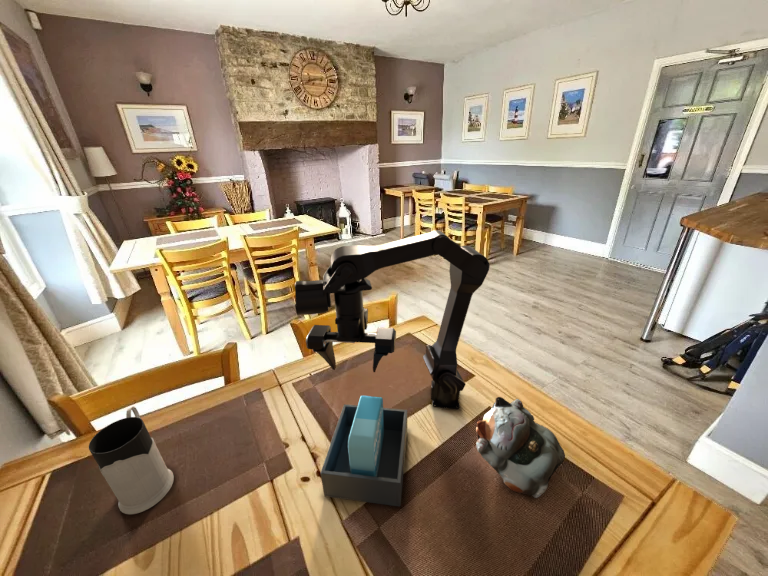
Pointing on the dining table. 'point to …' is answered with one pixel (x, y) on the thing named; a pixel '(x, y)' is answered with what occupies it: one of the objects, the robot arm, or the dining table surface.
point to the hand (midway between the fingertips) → (354, 369)
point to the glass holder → (131, 463)
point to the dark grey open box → (390, 467)
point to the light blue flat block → (366, 437)
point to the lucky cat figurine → (518, 447)
